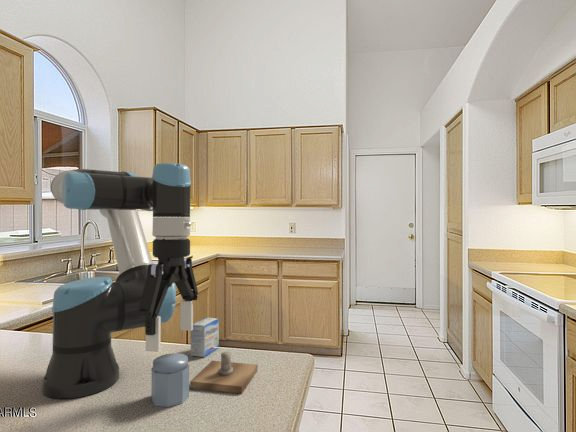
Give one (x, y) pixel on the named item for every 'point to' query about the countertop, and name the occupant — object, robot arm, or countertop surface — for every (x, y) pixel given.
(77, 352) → the robot arm
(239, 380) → the brown wooden square board
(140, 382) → the countertop surface
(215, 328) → the medicine box
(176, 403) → the cap
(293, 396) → the countertop surface
